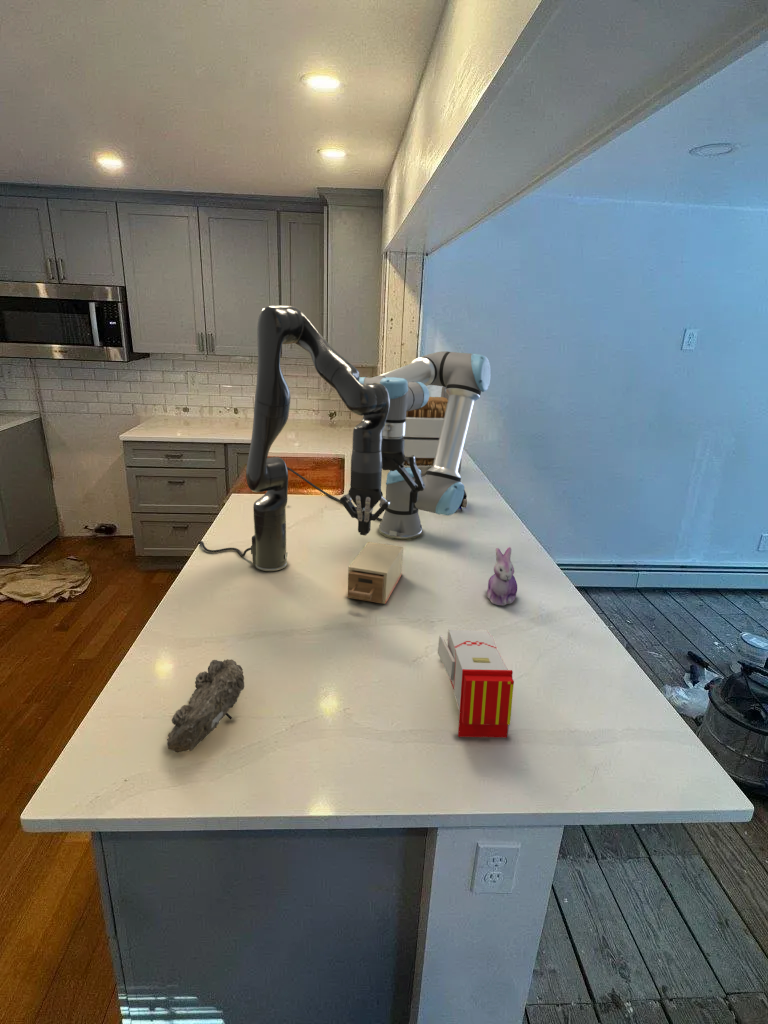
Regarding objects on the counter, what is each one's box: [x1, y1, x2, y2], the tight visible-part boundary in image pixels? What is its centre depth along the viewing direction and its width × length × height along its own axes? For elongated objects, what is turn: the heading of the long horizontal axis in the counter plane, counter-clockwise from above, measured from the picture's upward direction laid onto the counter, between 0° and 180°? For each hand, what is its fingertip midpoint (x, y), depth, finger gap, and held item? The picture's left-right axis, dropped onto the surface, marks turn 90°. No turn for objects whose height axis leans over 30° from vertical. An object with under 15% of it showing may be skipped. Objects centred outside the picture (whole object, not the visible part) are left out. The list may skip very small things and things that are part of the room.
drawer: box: [347, 571, 384, 604], centre depth 156 cm, size 23×10×7 cm, turn 165°
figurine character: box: [457, 489, 468, 512], centre depth 228 cm, size 7×8×15 cm
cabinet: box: [347, 541, 404, 605], centre depth 160 cm, size 18×11×9 cm, turn 165°
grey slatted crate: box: [389, 386, 463, 476], centre depth 268 cm, size 34×33×41 cm
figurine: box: [486, 546, 518, 606], centre depth 155 cm, size 9×10×15 cm
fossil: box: [166, 658, 245, 754], centre depth 106 cm, size 22×10×15 cm
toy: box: [437, 628, 515, 738], centre depth 117 cm, size 12×13×30 cm
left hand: (364, 534), depth 143 cm, fingers closed
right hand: (387, 510), depth 161 cm, fingers open, 13 cm apart
